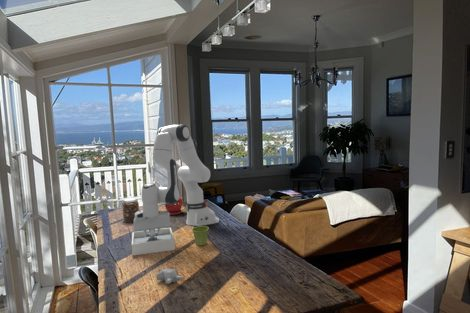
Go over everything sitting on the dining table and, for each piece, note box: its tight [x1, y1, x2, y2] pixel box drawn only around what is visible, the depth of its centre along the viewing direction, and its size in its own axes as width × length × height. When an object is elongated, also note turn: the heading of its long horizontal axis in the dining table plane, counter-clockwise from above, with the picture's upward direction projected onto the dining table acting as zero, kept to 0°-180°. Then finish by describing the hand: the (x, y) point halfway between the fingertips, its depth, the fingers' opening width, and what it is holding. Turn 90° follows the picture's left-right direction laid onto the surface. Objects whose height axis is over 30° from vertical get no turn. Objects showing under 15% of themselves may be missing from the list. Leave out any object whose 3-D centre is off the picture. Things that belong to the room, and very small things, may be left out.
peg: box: [148, 229, 156, 241], centre depth 200 cm, size 3×3×10 cm
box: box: [131, 227, 176, 256], centre depth 197 cm, size 22×22×6 cm
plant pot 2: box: [191, 225, 210, 246], centre depth 197 cm, size 9×9×9 cm
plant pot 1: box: [164, 196, 183, 216], centre depth 267 cm, size 13×13×12 cm
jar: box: [121, 197, 140, 223], centre depth 254 cm, size 12×12×15 cm
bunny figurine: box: [155, 267, 185, 285], centre depth 151 cm, size 10×5×15 cm
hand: (152, 236), depth 200 cm, fingers open, 4 cm apart
